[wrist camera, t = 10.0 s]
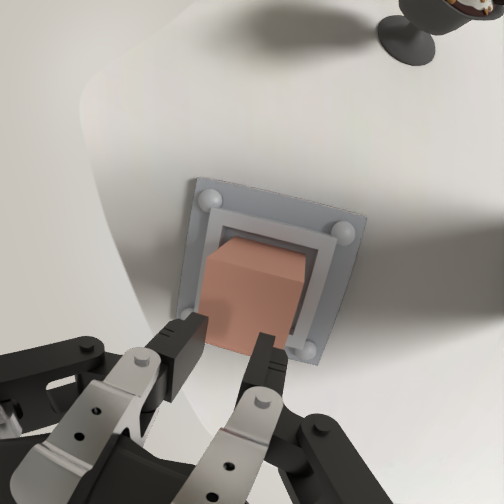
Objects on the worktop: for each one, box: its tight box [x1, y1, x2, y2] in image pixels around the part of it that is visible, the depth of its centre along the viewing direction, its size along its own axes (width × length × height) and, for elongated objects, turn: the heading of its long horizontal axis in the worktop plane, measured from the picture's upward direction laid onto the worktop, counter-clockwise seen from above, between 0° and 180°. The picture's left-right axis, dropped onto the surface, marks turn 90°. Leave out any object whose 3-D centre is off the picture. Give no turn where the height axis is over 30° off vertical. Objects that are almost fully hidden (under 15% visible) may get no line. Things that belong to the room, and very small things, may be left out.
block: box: [198, 236, 306, 356], centre depth 18 cm, size 5×5×6 cm
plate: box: [176, 177, 367, 366], centre depth 21 cm, size 12×12×2 cm
